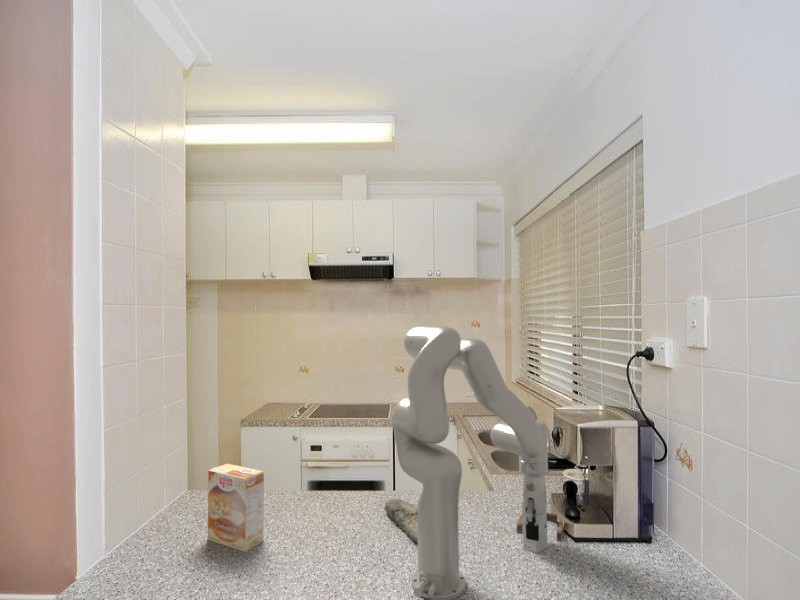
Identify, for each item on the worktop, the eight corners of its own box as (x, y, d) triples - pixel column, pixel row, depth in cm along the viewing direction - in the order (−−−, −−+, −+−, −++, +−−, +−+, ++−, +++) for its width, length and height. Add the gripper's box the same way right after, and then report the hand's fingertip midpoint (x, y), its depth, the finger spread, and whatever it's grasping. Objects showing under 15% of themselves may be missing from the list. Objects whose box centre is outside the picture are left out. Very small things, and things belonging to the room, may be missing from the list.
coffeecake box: (206, 540, 124) (207, 469, 125) (227, 529, 130) (227, 462, 131) (244, 553, 117) (245, 478, 118) (264, 541, 123) (264, 470, 124)
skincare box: (537, 554, 116) (536, 507, 116) (521, 547, 119) (520, 502, 119) (548, 545, 120) (547, 500, 120) (533, 539, 123) (532, 495, 124)
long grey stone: (428, 569, 112) (461, 562, 116) (429, 548, 112) (463, 542, 116) (376, 508, 143) (404, 504, 148) (377, 492, 143) (405, 488, 148)
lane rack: (560, 541, 122) (560, 534, 122) (516, 532, 127) (516, 525, 127) (565, 522, 133) (565, 515, 133) (524, 515, 138) (524, 508, 139)
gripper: (543, 478, 111) (544, 551, 110) (551, 458, 126) (553, 522, 126) (513, 474, 114) (514, 545, 113) (525, 455, 130) (526, 517, 129)
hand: (534, 532), depth 119 cm, fingers closed on skincare box, 6 cm apart
